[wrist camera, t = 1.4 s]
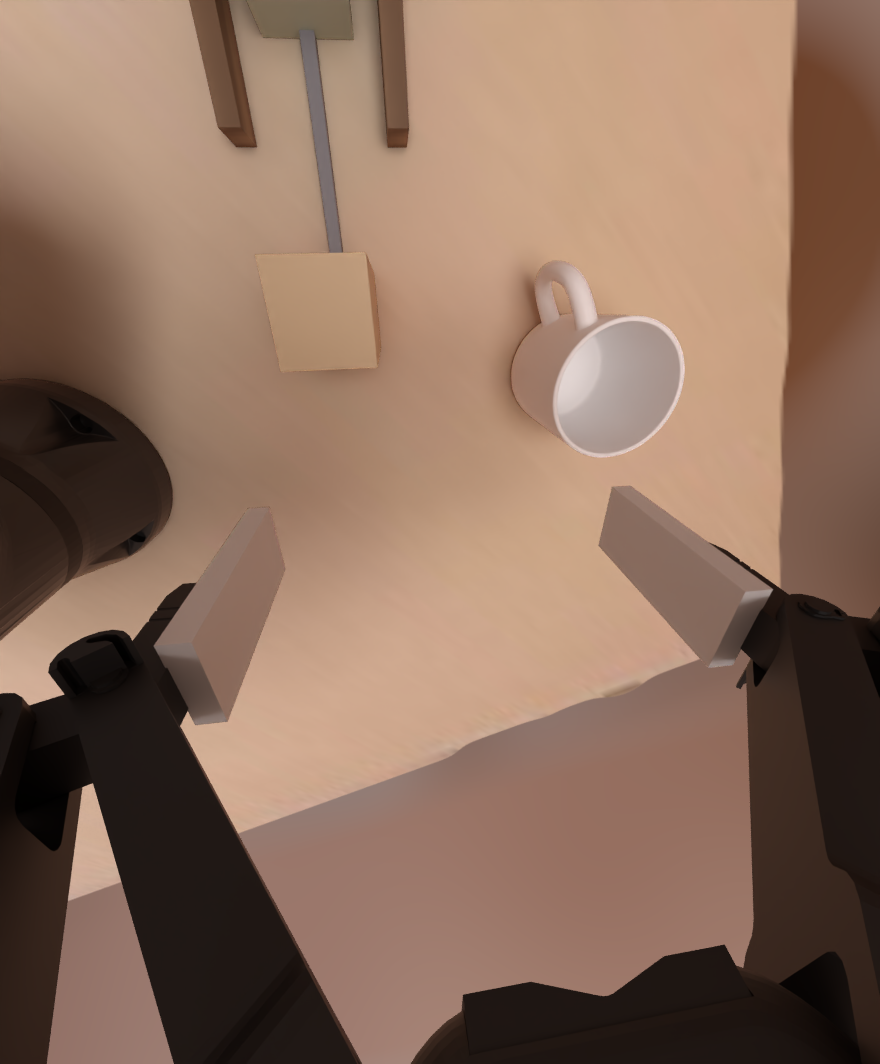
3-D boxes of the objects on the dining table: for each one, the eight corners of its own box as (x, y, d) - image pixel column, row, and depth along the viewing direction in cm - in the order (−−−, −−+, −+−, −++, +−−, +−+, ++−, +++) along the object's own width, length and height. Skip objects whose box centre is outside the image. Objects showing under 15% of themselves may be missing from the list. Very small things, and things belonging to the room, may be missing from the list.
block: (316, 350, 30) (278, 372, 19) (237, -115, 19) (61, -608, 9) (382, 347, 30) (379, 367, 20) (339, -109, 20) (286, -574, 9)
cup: (528, 436, 35) (575, 479, 26) (473, 299, 29) (510, 295, 20) (615, 391, 34) (693, 419, 25) (576, 238, 28) (661, 206, 19)
